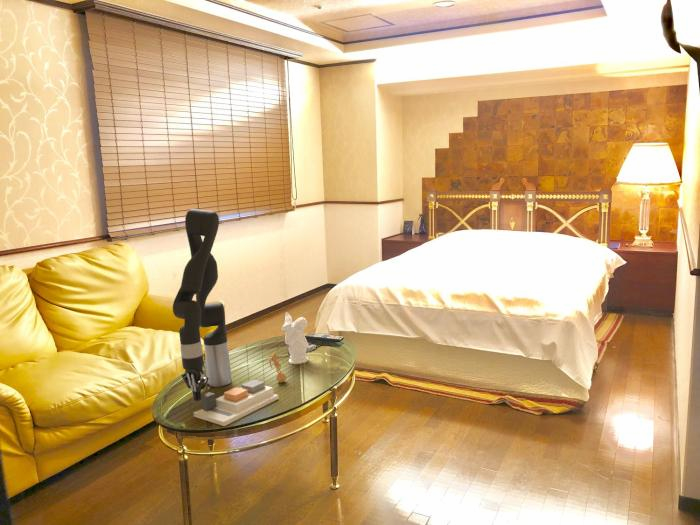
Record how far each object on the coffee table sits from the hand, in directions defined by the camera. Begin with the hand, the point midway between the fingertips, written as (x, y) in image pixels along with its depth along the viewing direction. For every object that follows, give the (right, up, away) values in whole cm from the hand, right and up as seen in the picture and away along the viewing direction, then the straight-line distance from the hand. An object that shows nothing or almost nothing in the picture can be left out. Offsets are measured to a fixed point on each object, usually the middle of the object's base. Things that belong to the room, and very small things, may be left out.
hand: (197, 400), depth 207 cm
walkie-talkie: (+34, +8, +64) cm, 73 cm away
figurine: (+27, +2, +22) cm, 35 cm away
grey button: (+19, +2, +6) cm, 20 cm away
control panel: (+14, -3, 0) cm, 15 cm away
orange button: (+14, 0, -1) cm, 14 cm away
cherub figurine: (+31, +6, +45) cm, 55 cm away
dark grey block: (+5, -2, -4) cm, 7 cm away
